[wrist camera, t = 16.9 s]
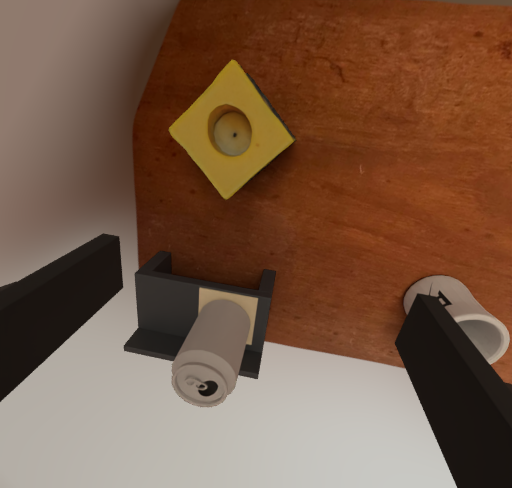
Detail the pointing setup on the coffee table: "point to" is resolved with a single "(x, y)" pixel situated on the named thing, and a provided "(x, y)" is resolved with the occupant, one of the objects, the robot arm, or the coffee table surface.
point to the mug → (464, 314)
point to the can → (211, 354)
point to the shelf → (192, 311)
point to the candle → (232, 130)
